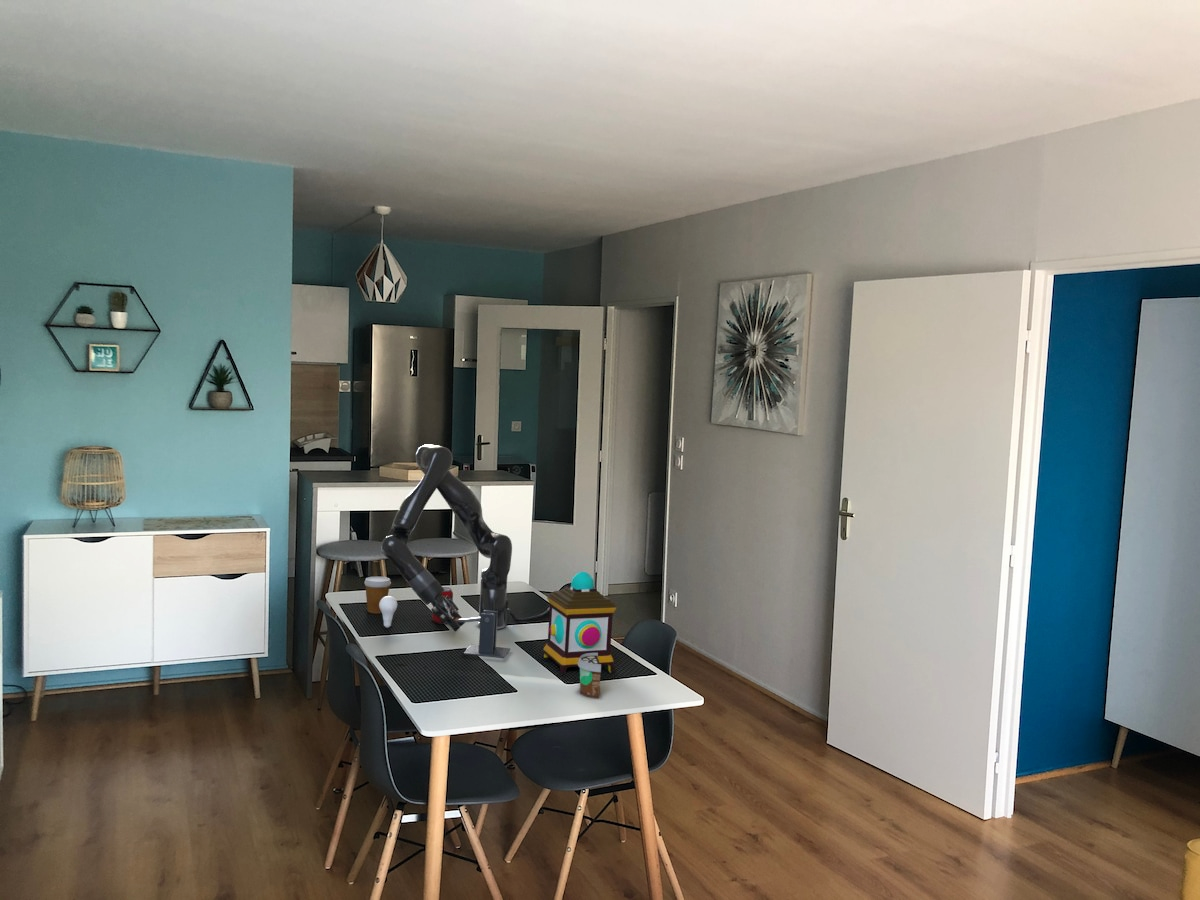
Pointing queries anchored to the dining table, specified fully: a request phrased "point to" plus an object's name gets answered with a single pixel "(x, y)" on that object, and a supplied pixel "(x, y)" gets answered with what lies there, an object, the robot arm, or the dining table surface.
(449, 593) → the beverage can
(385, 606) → the lightbulb
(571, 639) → the decorative lantern
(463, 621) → the lever
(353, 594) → the dining table surface
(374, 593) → the disposable coffee cup
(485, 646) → the bracket
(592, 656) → the food container
